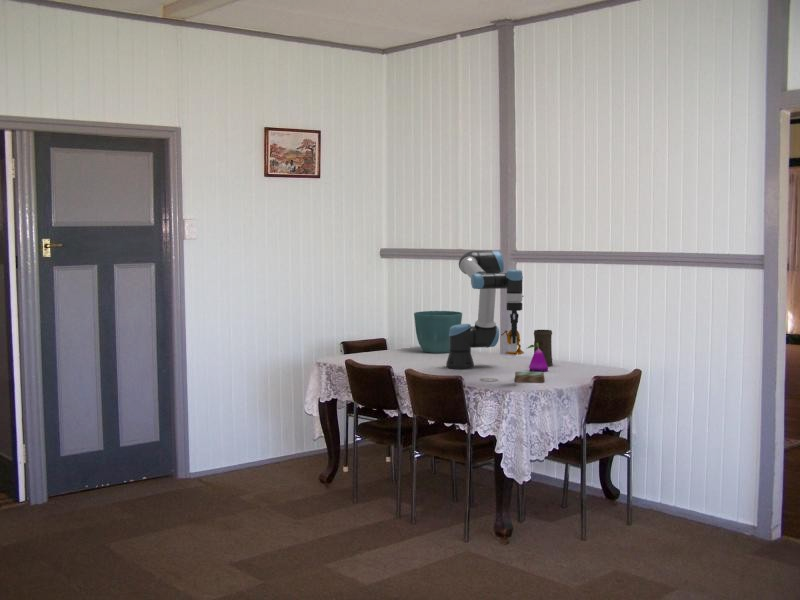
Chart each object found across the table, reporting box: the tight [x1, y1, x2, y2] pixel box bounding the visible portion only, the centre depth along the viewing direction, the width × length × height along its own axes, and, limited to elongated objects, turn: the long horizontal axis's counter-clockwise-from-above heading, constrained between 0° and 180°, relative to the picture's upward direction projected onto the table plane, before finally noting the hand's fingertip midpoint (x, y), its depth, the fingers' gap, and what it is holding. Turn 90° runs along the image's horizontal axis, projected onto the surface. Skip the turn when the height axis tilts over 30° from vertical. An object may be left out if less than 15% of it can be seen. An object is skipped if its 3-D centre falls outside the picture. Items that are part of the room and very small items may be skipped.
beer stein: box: [533, 329, 554, 368], centre depth 496 cm, size 15×11×20 cm
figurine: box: [500, 329, 525, 356], centre depth 435 cm, size 9×11×12 cm
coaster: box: [479, 377, 499, 383], centre depth 445 cm, size 9×9×1 cm
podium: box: [514, 371, 545, 384], centre depth 445 cm, size 14×14×3 cm
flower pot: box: [413, 310, 463, 354], centre depth 558 cm, size 30×30×24 cm
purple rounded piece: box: [526, 343, 549, 372], centre depth 475 cm, size 11×11×15 cm
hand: (514, 348), depth 433 cm, fingers closed on figurine, 9 cm apart
